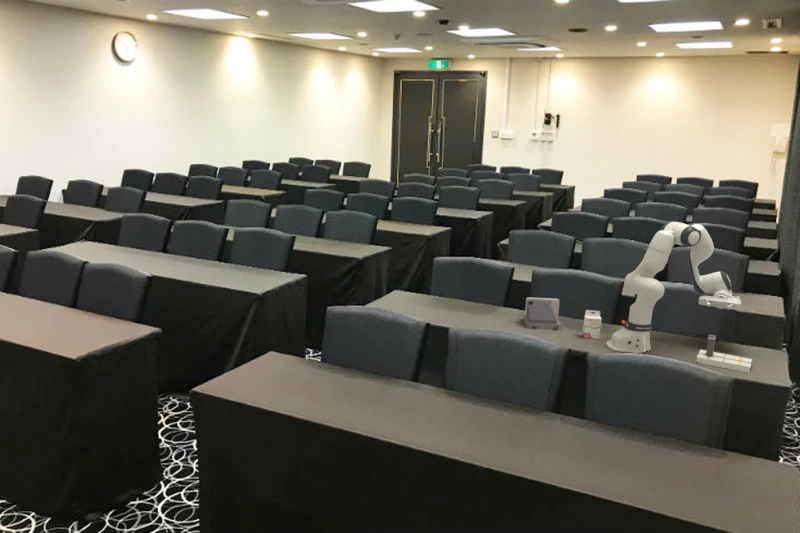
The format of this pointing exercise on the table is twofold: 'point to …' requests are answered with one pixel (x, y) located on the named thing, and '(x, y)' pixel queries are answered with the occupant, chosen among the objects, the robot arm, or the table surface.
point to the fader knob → (710, 345)
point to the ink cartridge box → (592, 324)
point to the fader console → (725, 361)
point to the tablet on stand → (542, 313)
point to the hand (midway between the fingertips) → (718, 306)
